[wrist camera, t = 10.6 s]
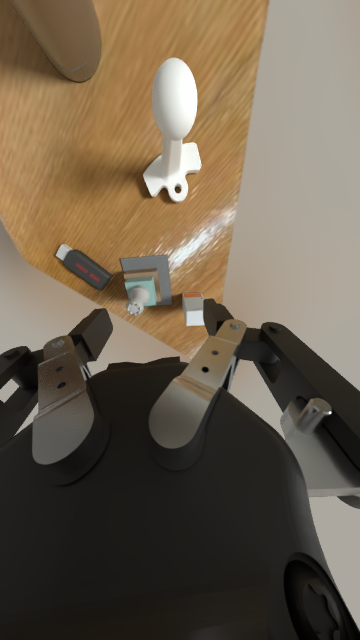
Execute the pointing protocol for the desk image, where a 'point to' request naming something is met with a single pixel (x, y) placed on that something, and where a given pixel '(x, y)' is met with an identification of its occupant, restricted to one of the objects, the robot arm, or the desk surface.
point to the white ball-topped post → (173, 129)
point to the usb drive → (84, 267)
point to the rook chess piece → (137, 300)
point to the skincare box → (193, 308)
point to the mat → (150, 263)
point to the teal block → (147, 283)
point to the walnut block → (146, 273)
